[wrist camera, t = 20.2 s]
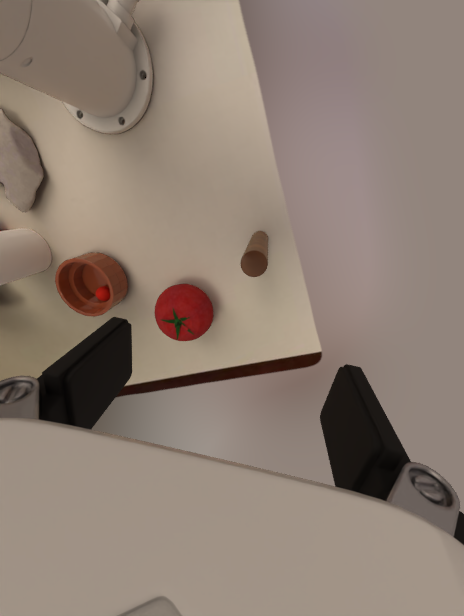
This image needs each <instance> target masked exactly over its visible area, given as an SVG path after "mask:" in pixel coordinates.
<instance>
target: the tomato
mask: <svg viewBox="0 0 464 616" xmlns="http://www.w3.org/2000/svg"><path fill="white" fill-rule="evenodd" d="M155 318H156V322H157V324H158V326H159V328H160V329H161V330H162V332H163V333H164V334H166V335H167V336H168V337H170V338H172V339H175V340H178V341H190V340H194V339H197V338H198V337H200V336H202V335H203V334H204V333H205V332H206V331H207V330H208V329H209V327H210V326H211V323H212V321H213V307H212V303H211V301H210V299H209V297H208V296H207V295H206V293H205V292H203V291H202V290H201V289H199V288H198V287H196V286H193V285H189V284H179V285H174V286H171V287H169V288H167V289H166V290H164V292H163V293H162V294H161V295H160V296H159V298H158V300H157V303H156V306H155Z"/></svg>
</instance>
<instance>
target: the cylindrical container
mask: <svg viewBox="0 0 464 616" xmlns="http://www.w3.org/2000/svg"><path fill="white" fill-rule="evenodd" d="M51 261H52V255H51V251H50V248H49V246H48V244H47V242H46V241H45V240H44V238H43V237H42V236H41V235H39V234H38V233H37V232H35V231H33V230H31V229H27V228H20V229H12V230H5V231H0V285H3V284H6V283H9V282H12V281H15V280H18V279H21V278H24V277H27V276H30V275H33V274H36V273H39V272H42V271H45V270H46V269H48V267H49V266H50V264H51Z"/></svg>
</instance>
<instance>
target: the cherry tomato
mask: <svg viewBox="0 0 464 616" xmlns="http://www.w3.org/2000/svg"><path fill="white" fill-rule="evenodd" d="M96 297H97V298H98V299H99V300H101V301H107V300H109V299H110V289H109V287H106V286H101V287H99V288H98V289H97V290H96Z"/></svg>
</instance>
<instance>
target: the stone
mask: <svg viewBox="0 0 464 616" xmlns="http://www.w3.org/2000/svg"><path fill="white" fill-rule="evenodd" d="M43 175H44V174H43V169H42V167H41V164H40V159H39V156H38V151H37V149H36V148H35V146H34V143H33V141H32V139H31V137H30V136H29V135H28V134H27V133H26V132H25V131H24V130H23V129H21V128H19V127H18V126H16V125H15V124H14V123H12V122H11V121H10V120H9V119H8V117H7V116H6V115H5V113H4V111H3V110H2V109H1V108H0V182H1V183H3V184H4V186H5V193H6V198H7V199H8V200H9V201H10V203H12V204H13V205H14V206H15V207H17V208H18V209H19V210H20V211H22V212H25V213H26V212H28V211H29V210H30V208H31V207H32V204H33V203H34V202H35V197H36V196H35V194H36V190H37V189H38V187H39V185H40V184H41V181H42V179H43Z"/></svg>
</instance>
